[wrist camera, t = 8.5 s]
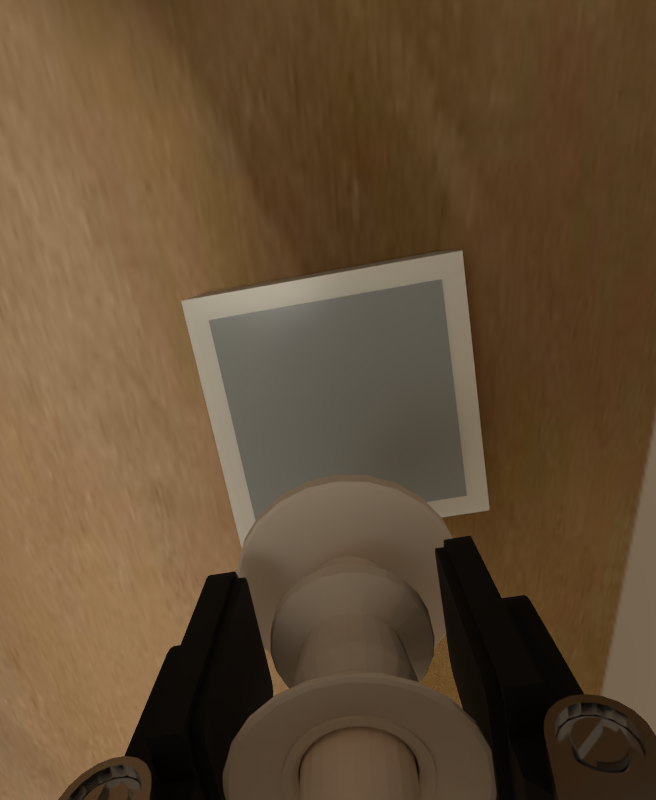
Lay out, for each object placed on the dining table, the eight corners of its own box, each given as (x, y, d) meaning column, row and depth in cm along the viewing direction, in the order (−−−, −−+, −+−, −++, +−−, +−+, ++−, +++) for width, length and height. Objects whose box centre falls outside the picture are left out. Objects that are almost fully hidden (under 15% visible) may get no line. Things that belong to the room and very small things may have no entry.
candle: (435, 680, 14) (738, 1912, 3) (228, 653, 13) (-90, 1860, 3) (480, 489, 12) (1185, 1585, 2) (250, 457, 12) (-163, 1467, 2)
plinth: (443, 250, 26) (463, 250, 22) (469, 475, 29) (490, 511, 25) (203, 293, 27) (179, 301, 23) (253, 509, 30) (241, 549, 26)
